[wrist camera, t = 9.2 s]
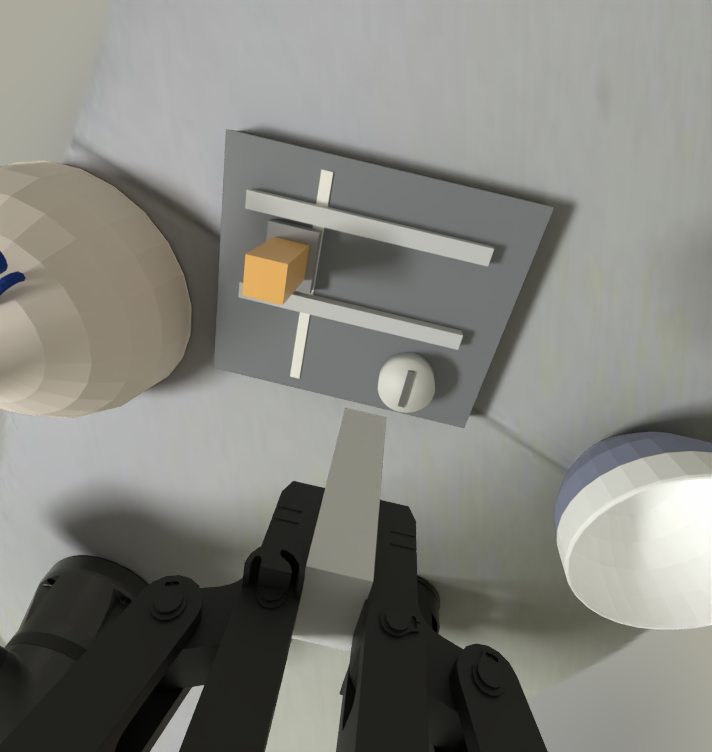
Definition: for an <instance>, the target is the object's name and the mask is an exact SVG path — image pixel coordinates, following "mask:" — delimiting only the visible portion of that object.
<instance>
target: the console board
mask: <svg viewBox="0 0 712 752" xmlns="http://www.w3.org/2000/svg"><path fill="white" fill-rule="evenodd" d="M553 209H554V207H551V206H548V205H546V204H542V203H537V202H533V201H529V200H525V199H521V198H516V197H512V196H508V195H504V194H500V193H495V192H491V191H487V190H483V189H479V188H474V187H470V186H466V185H462V184H458V183H454V182H449V181H445V180H441V179H437V178H433V177H428V176H424V175H420V174H416V173H412V172H407V171H403V170H399V169H395V168H391V167H386V166H382V165H378V164H374V163H370V162H365V161H361V160H357V159H353V158H349V157H344V156H340V155H336V154H332V153H328V152H324V151H319V150H315V149H311V148H307V147H303V146H298V145H294V144H290V143H286V142H282V141H277V140H273V139H269V138H265V137H261V136H256V135H252V134H248V133H244V132H240V131H234V130H227V129H226V139H225V159H224V178H223V198H222V217H221V237H220V256H219V276H218V295H217V315H216V334H215V354H214V368H216V369H220V370H225V371H229V372H233V373H237V374H241V375H245V376H249V377H254V378H258V379H262V380H266V381H270V382H274V383H279V384H283V385H287V386H291V387H295V388H299V389H303V390H308V391H312V392H316V393H320V394H324V395H328V396H333V397H337V398H341V399H345V400H349V401H353V402H357V403H362V404H366V405H370V406H374V407H378V408H382V409H387V410H391V411H395V412H399V413H403V414H407V415H411V416H416V417H420V418H424V419H428V420H432V421H436V422H441V423H445V424H449V425H453V426H457V427H461V428H464V427H465V425H466V422H467V420H468V417H469V415H470V413H471V410H472V408H473V405H474V403H475V400H476V398H477V395H478V393H479V390H480V388H481V386H482V383H483V381H484V378H485V376H486V373H487V371H488V368H489V366H490V364H491V361H492V359H493V356H494V354H495V351H496V349H497V346H498V344H499V341H500V339H501V337H502V334H503V332H504V329H505V327H506V324H507V322H508V319H509V317H510V315H511V312H512V310H513V307H514V305H515V302H516V300H517V297H518V295H519V292H520V290H521V288H522V285H523V283H524V280H525V278H526V275H527V273H528V270H529V268H530V266H531V263H532V261H533V258H534V256H535V253H536V251H537V248H538V246H539V243H540V241H541V239H542V236H543V234H544V231H545V229H546V226H547V224H548V221H549V219H550V216H551V214H552V212H553ZM271 219H276V220H280V221H284V222H289V223H293V224H297V225H301V226H305V227H310V228H314V229H318V230H322V236H321V242H320V248H319V255H318V261H317V267H316V273H315V279H314V285H313V290H312V292H311V293H310V294H306V293H302V292H298V291H294V293H293V294H292V295H291V296H290V297H289V298H288V300H287V301H286V302H285V303H284V304H283V305H280V304H276V303H271V302H267V301H263V300H259V299H255V298H251V297H246V296H242V291H243V279H244V267H245V254H246V253H248V252H250V251H251V250H253V249H255V248H256V247H258V246H260V245H262V244H263V243H265V242H266V237H267V227H268V221H269V220H271Z"/></svg>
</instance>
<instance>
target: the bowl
mask: <svg viewBox="0 0 712 752" xmlns="http://www.w3.org/2000/svg"><path fill="white" fill-rule="evenodd" d="M554 523H555V530H556V538H557V547H558V550H559V554H560V558H561V561H562V564H563V568H564V571H565V575H566V578H567V581H568V584H569V586H570V587H571V589H572V591H573V592H574V594H575V595H576V597H577V598H578V599H579V600H580V601H581V602H582V603H584V604H585V605H586V606H587V607H588V608H589V609H591V610H592V611H594V612H596V613H597V614H599V615H600V616H602V617H605V618H607V619H610V620H612V621H615V622H617V623H620V624H624V625H629V626H633V627H637V628H645V629H654V630H683V629H692V628H701V627H706V626H711V625H712V443H710V442H706V441H702V440H698V439H694V438H689V437H685V436H681V435H676V434H672V433H665V432H640V433H631V434H622V435H618V436H613V437H610V438H608V439H605V440H602V441H601V442H599V443H597V444H595V445H593V446H592V447H591V448H589V449H588V450H587V451H586V452H585V453H584V454H583V455H582V456H581V457H580V458H579V459H578V460H577V461H576V462H575V463H574V464H573V466H572V467H571V468H570V469H569V471H568V472H567V474H566V476H565V477H564V479H563V482H562V485H561V489H560V492H559V495H558V498H557V502H556V505H555V510H554Z"/></svg>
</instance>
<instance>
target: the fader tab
mask: <svg viewBox="0 0 712 752" xmlns="http://www.w3.org/2000/svg"><path fill="white" fill-rule="evenodd" d="M321 236H322V230H318V229H314V228H310V227H305V226H301V225H297V224H293V223H289V222H284V221H280V220H276V219H271V220H269V221H268V227H267V237H266V242H265V243H263V244H262V245H260V246H258V247H256V248H255V249H253V250H251V251H250V252H248V253H246V254H245V267H244V279H243V291H242V296H246V297H251V298H255V299H259V300H263V301H267V302H271V303H276V304H280V305H283V304H284V303H285V302H286V301H287V300H288V298H289V297H290V296H291V295H292V294H293V293H294V291H298V292H302V293H306V294H310V293H311V292H312V290H313V285H314V279H315V273H316V267H317V261H318V255H319V248H320V242H321Z"/></svg>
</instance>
